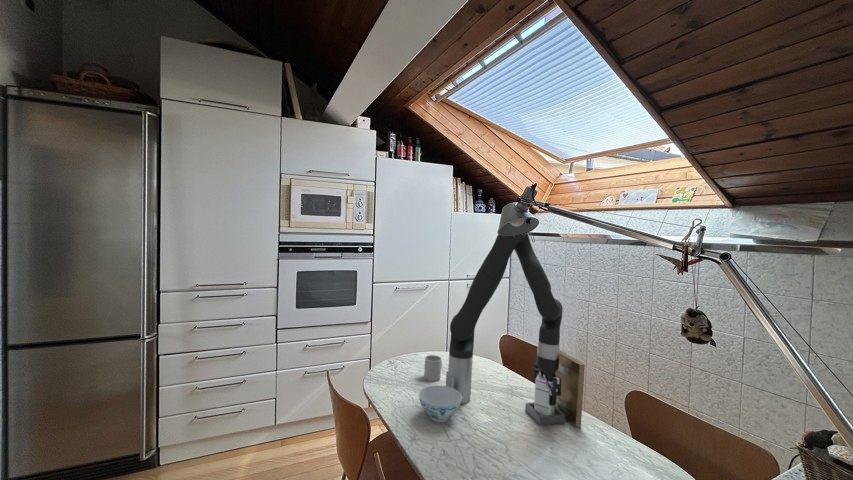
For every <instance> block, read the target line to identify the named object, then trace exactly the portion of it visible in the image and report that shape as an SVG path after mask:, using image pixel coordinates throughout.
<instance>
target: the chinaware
mask: <svg viewBox="0 0 853 480" xmlns="http://www.w3.org/2000/svg"><path fill="white" fill-rule="evenodd" d="M418 398H419V403H420V406H421V408H422V409H423V411H424V413H426V414H427V416H429V419H430V420H432V421H433V422H437V423H443V422H446V421H448V420H449V419H450V417H452V416H453V415H454V414H456V412H457V411H458V410H459V408H460V405H461V404H460V403H461V400H462V396H461V394H460V393H459V392H458V391H457V390H455V389H453V388H450V387H447V386H446V385H428V386H425V387H423V388H422V389H420V390H419V392H418Z"/></svg>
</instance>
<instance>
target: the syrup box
mask: <svg viewBox="0 0 853 480" xmlns="http://www.w3.org/2000/svg"><path fill="white" fill-rule="evenodd" d="M534 380H535V379H534ZM548 382H549V381H548ZM534 384H535V385H534V410H535V411H536V412H537V413H538V414H539V415H540V416H545V415H555V405H554V406H550V405H549V394H550V393H549V389H548V388H547V387H546V380H544V378H543V377H542V376H538V377H537V378H536V380H535V382H534ZM549 385H553V383H552V381H551V382H549ZM551 389H552V391H553V388H551Z"/></svg>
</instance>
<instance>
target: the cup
mask: <svg viewBox="0 0 853 480" xmlns="http://www.w3.org/2000/svg"><path fill="white" fill-rule="evenodd" d="M442 366H443V363H442V357H441V356H439V355H435V354H434V355H433V354H432V355H431V354H429V355H426V356H425V357H424V372H423V374H424V376H423V377H424V379H425V380H426V381H429V382H437V381H440V379H441V376H442V375H441V371H442Z"/></svg>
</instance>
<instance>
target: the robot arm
mask: <svg viewBox="0 0 853 480" xmlns="http://www.w3.org/2000/svg"><path fill="white" fill-rule="evenodd" d="M514 251H515V253H516V256H517V257H518V260H519V263H520V265H521V269H522V272H523V275H524V277H525V280H526V282H527V284H528V285H529V288H530V290H531V293H532V295H533V299H534V302H535V305H536V308H537V312H539V313H538V314H539V315H540V316H541V319H542V320H541V325H540V327H539V331H538V343H537V352H536V363H533V372H532V373H533V374H532V379H533V380H536V378H537V377H538V376H542V377H543V378H544V380H546V387H547V388H548V389H549V393H550V394H549V405H550V406H554V405H555V404H556V396H561V378H557V377H556V375H555V372H556V371H557V370H558V368H559V353H560V351H561V349H560V337H561V325H562V318H563V305H562V303H561V302H560V301H559V300H558V299H556V298H555V297H554V295H553V292H552V285H551V282H550V281H549V279H548V276H547V274H546V272H545V270H544V268H543V267H542V264H541V263H540V260H539V259H538V257H537V255H536V253H535V251H534V249H533V246H532V243H531V240H530V235H529V233H526V234H523V235H519V236H515V237H503V236H500V235H498V234H497V236H496V238H495V241H494V243H493V245H492V247H491V249H490V251H489V252H488V254H487V255H486V257H485V258H484V260H483V261H482V264H481V265H480V266H479V268H478V270H477V272H476V275H475V276H474V278H473V280H472V282H471V284H470V287H469V290H468V293H467V295H466V298H465V300H464V301H463V302H464V303H463V304H462V306H461V308H460V309H459V311H458V312H457V313H456V314H455V315H454V316H453V317H452V319H451V322H450V325H449V331H450V342H449V350H448V353H449V354H448V368H447V370H448V371H446V377H445V378H446V379H445V386H447V387H450V388H453V389H455V390H457V391H458V392H459V393H460V394H461V396H462V400H461V403H460V405H462V404H463V405H464V404H468V403H469V402H470V401H471V396H472V395H471V393H472V392H471V391H472V376H473V358H474V344H475V343H474V342H475V331H476V330H475V329H476V325H477V323H478V320H479V318H480V316H481V314H482V312H483V310H484V309H485V307H487V305H488V304H489V302H490V300H491V299H492V297H493V296H494V294H495V292H496V291H497V289H498V287H499V285H500V283H501V281H502V279H503V277H504V274H505V273H506V269H507V265H508V262H509V259H510V257H511V255H512V253H513V252H514ZM548 381H549V382H551V381H552V383H553V385H549V382H548ZM551 388H553V391H552V389H551ZM557 389H558V392H557Z"/></svg>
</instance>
